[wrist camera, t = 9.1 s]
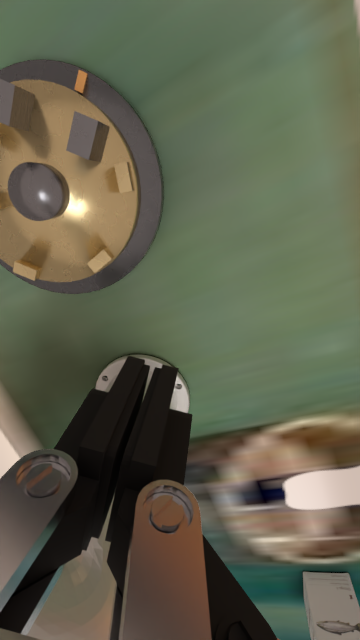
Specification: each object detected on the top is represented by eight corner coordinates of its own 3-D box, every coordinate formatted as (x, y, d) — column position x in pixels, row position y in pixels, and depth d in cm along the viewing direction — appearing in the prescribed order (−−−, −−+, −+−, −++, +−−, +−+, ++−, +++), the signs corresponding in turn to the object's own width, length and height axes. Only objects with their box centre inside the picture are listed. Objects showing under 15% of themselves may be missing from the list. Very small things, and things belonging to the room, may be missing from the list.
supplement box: (349, 571, 53) (385, 680, 41) (347, 599, 55) (380, 709, 44) (301, 569, 54) (323, 675, 42) (301, 596, 56) (322, 703, 45)
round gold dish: (112, 301, 37) (97, 318, 33) (-38, 240, 37) (-75, 248, 32) (166, 132, 30) (157, 123, 26) (-19, 52, 29) (-63, 27, 25)
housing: (160, 297, 38) (158, 302, 37) (-16, 282, 40) (-26, 286, 39) (167, 67, 30) (164, 61, 28) (-58, 62, 32) (-73, 56, 30)
